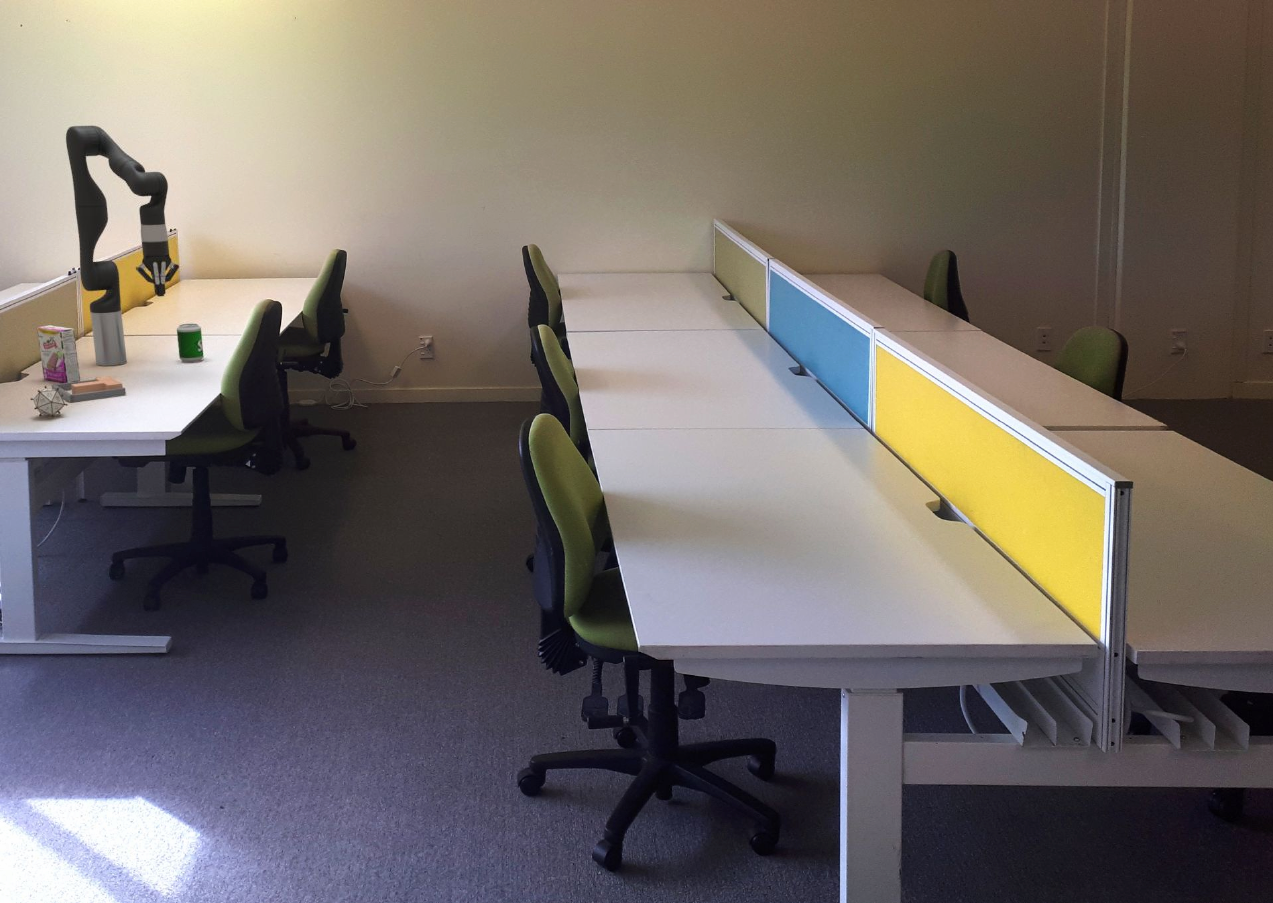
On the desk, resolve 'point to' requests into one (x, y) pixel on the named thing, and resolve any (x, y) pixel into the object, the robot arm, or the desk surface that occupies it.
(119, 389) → the charcoal bay
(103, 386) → the T block
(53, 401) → the game die
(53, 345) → the candy bar box
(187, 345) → the soda can
